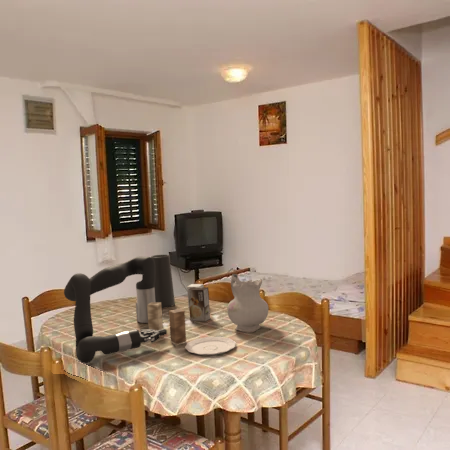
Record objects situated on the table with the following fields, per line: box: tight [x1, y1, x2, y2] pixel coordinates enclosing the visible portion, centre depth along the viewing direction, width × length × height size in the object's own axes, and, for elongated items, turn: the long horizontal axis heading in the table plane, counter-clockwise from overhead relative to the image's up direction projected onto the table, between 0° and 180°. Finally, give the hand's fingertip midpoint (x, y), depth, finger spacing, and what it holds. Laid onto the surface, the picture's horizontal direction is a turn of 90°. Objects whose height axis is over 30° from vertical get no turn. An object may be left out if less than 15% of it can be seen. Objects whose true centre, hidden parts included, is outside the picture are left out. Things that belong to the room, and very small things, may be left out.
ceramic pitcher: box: [226, 273, 269, 333], centre depth 214 cm, size 22×20×25 cm
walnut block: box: [168, 308, 187, 346], centre depth 198 cm, size 5×5×14 cm
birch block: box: [147, 302, 164, 330], centre depth 213 cm, size 5×5×14 cm
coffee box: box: [187, 286, 211, 322], centre depth 232 cm, size 9×6×16 cm
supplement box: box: [186, 283, 205, 307], centre depth 257 cm, size 7×7×13 cm
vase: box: [150, 254, 176, 309], centre depth 266 cm, size 14×14×29 cm
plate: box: [184, 336, 237, 356], centre depth 189 cm, size 21×21×2 cm
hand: (166, 331), depth 195 cm, fingers closed
